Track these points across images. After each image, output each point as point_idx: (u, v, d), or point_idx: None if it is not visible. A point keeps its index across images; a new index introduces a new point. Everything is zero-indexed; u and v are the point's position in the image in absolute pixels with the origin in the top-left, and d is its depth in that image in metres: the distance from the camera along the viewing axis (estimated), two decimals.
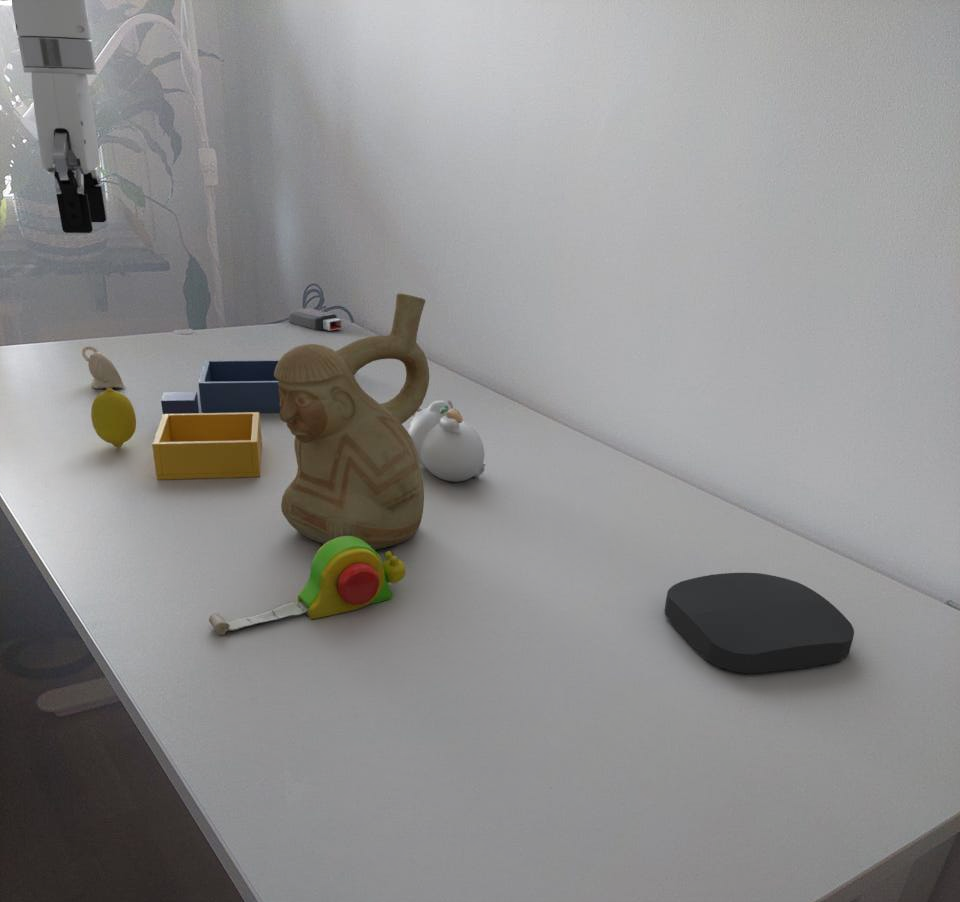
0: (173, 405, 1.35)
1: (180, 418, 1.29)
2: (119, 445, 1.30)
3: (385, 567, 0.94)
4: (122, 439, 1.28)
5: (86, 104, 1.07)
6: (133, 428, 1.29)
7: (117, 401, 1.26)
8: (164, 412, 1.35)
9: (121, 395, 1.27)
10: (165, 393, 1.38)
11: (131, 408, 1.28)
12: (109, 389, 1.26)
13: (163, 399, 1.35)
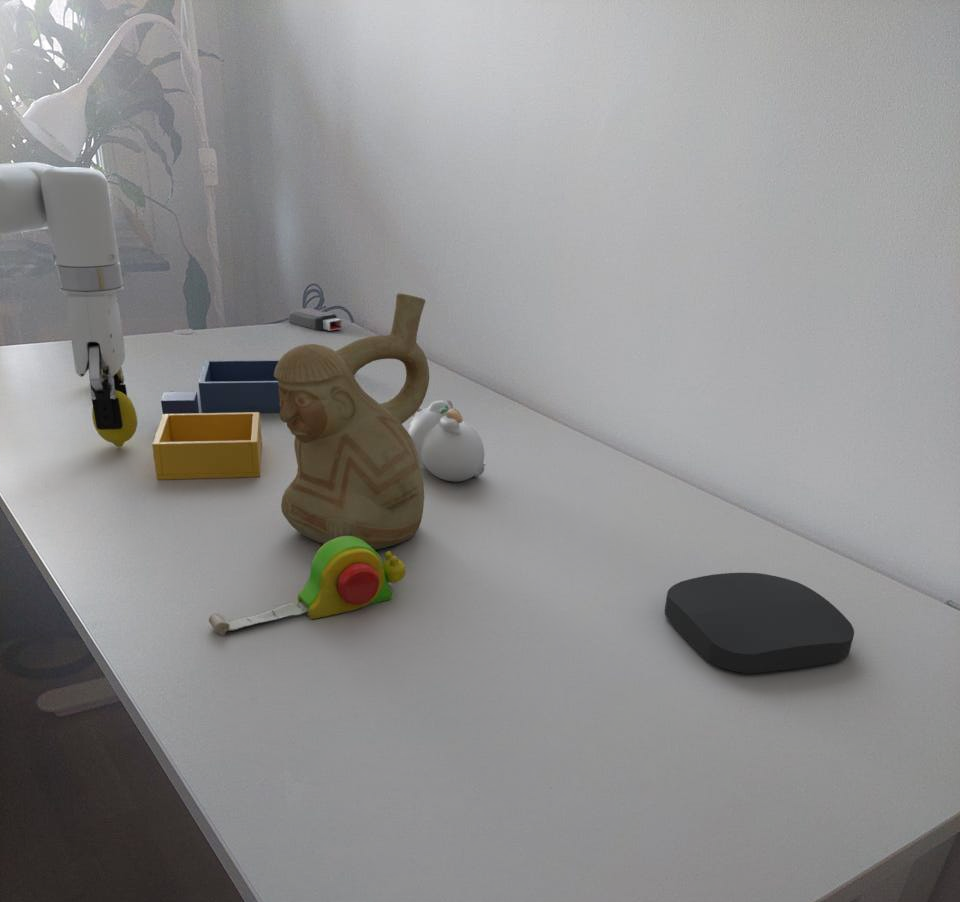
0: (173, 405, 1.35)
1: (180, 418, 1.29)
2: (120, 444, 1.30)
3: (385, 567, 0.94)
4: (124, 439, 1.29)
5: (114, 316, 1.21)
6: (134, 427, 1.29)
7: None
8: (164, 412, 1.35)
9: (122, 394, 1.27)
10: (165, 393, 1.38)
11: (132, 407, 1.28)
12: None
13: (163, 399, 1.35)
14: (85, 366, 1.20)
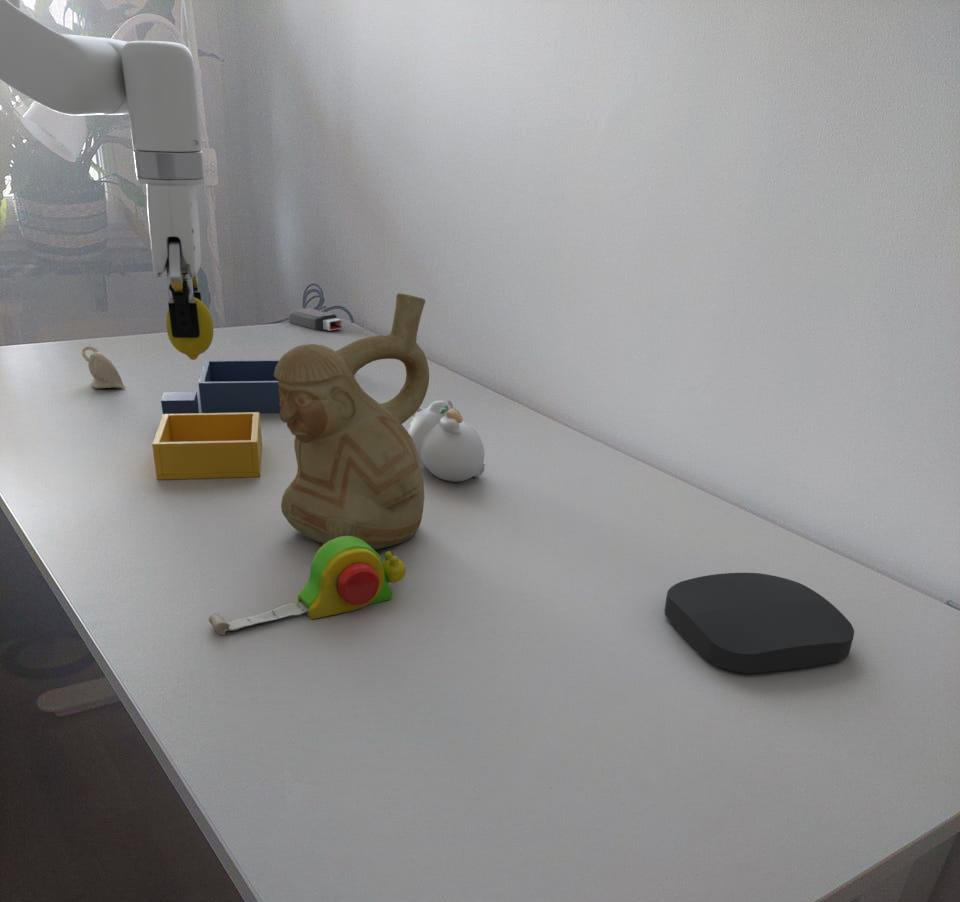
0: (173, 405, 1.35)
1: (180, 418, 1.29)
2: (195, 357, 1.20)
3: (385, 567, 0.94)
4: (199, 350, 1.19)
5: (195, 211, 1.11)
6: (211, 338, 1.19)
7: None
8: (164, 412, 1.35)
9: (199, 300, 1.17)
10: (165, 393, 1.38)
11: (209, 315, 1.18)
12: None
13: (163, 399, 1.35)
14: (164, 264, 1.10)
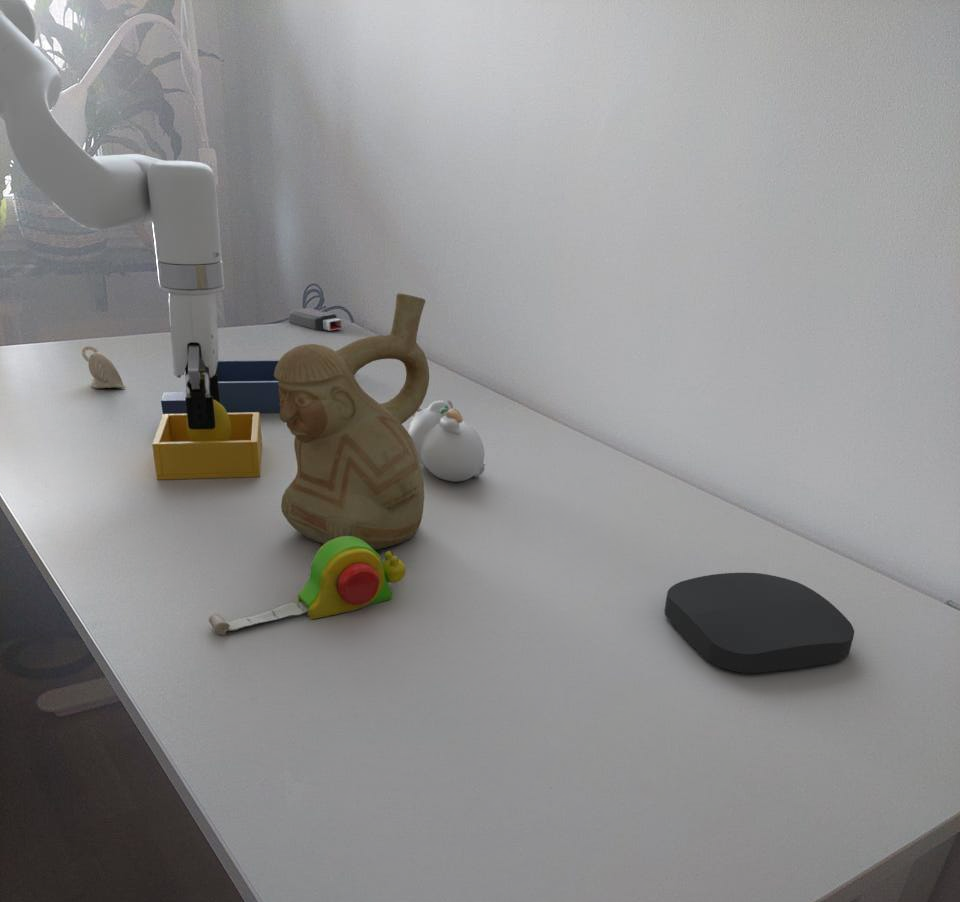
0: (173, 405, 1.35)
1: (180, 418, 1.29)
2: None
3: (385, 567, 0.94)
4: None
5: (214, 316, 1.17)
6: (229, 437, 1.25)
7: (215, 409, 1.22)
8: (164, 412, 1.35)
9: (218, 403, 1.23)
10: (165, 393, 1.38)
11: (227, 416, 1.24)
12: None
13: (163, 399, 1.35)
14: (184, 367, 1.16)
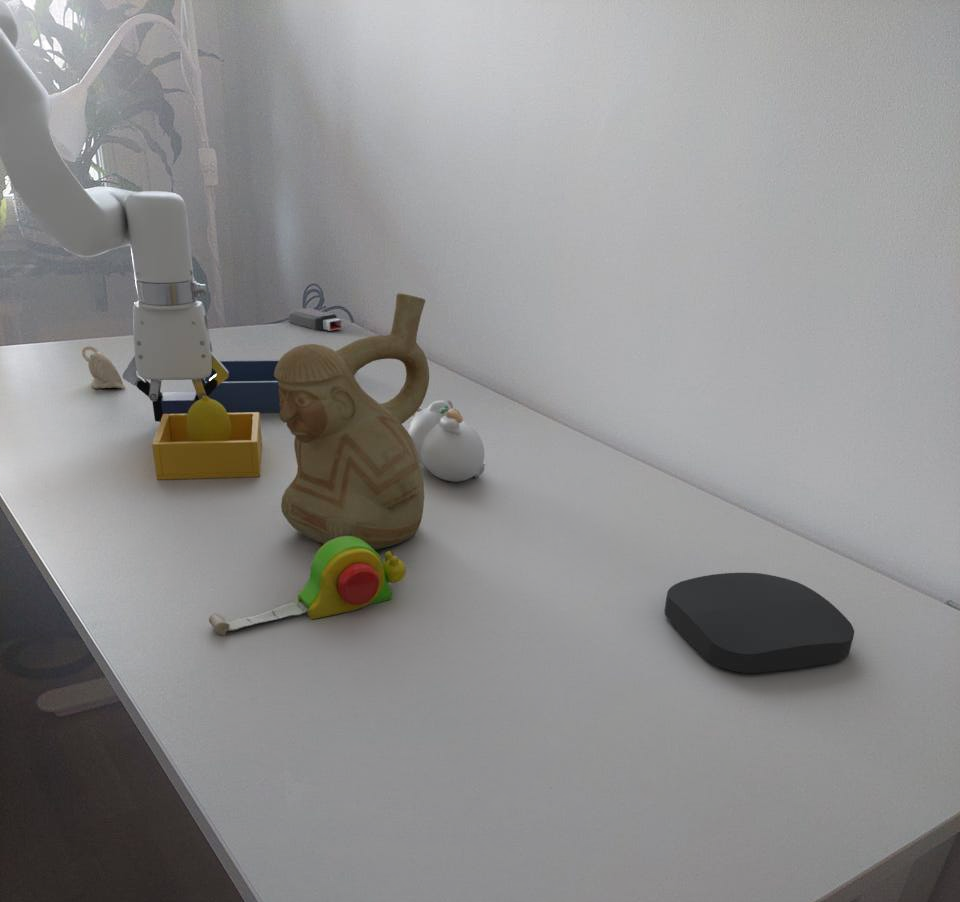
0: (173, 405, 1.35)
1: (180, 418, 1.29)
2: None
3: (385, 567, 0.94)
4: None
5: (157, 330, 1.30)
6: (229, 437, 1.25)
7: (215, 409, 1.22)
8: (164, 412, 1.35)
9: (218, 403, 1.23)
10: (165, 393, 1.38)
11: (227, 416, 1.24)
12: (206, 397, 1.23)
13: (163, 399, 1.35)
14: None
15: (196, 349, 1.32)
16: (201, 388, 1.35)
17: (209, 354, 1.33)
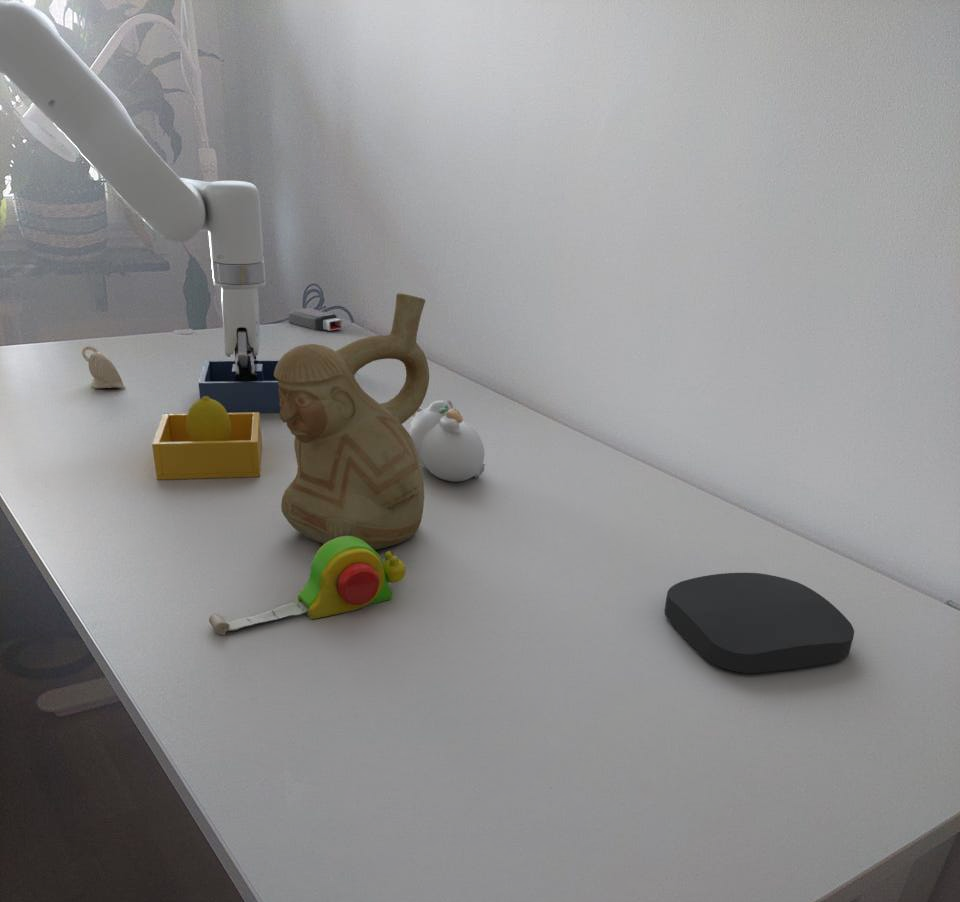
0: (262, 373, 1.49)
1: (180, 418, 1.29)
2: None
3: (385, 567, 0.94)
4: None
5: (258, 306, 1.43)
6: (229, 437, 1.25)
7: (215, 409, 1.22)
8: None
9: (218, 403, 1.23)
10: None
11: (227, 416, 1.24)
12: (206, 397, 1.23)
13: (257, 370, 1.48)
14: (234, 348, 1.42)
15: None
16: None
17: None
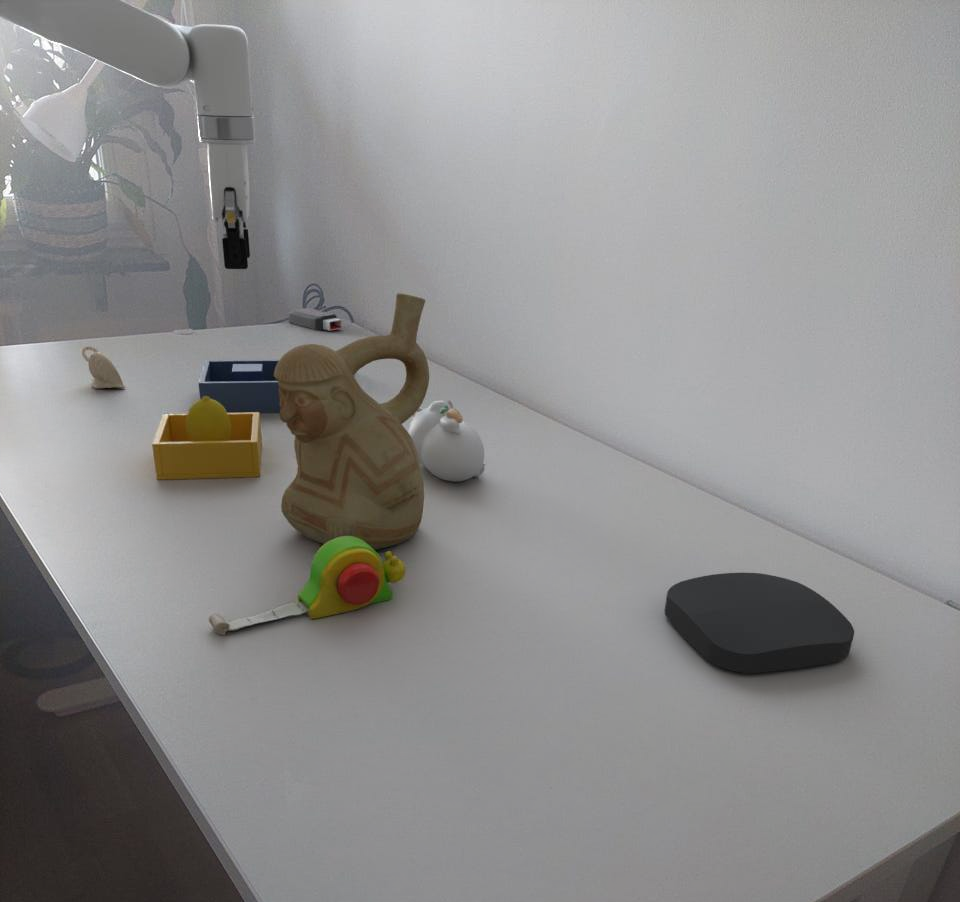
0: (262, 373, 1.49)
1: (180, 418, 1.29)
2: None
3: (385, 567, 0.94)
4: None
5: (247, 167, 1.34)
6: (229, 437, 1.25)
7: (215, 409, 1.22)
8: None
9: (218, 403, 1.23)
10: (237, 370, 1.47)
11: (227, 416, 1.24)
12: (206, 397, 1.23)
13: (257, 370, 1.48)
14: (221, 210, 1.33)
15: None
16: None
17: None
